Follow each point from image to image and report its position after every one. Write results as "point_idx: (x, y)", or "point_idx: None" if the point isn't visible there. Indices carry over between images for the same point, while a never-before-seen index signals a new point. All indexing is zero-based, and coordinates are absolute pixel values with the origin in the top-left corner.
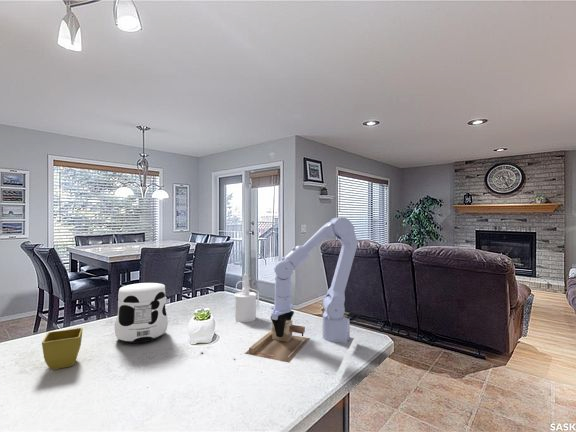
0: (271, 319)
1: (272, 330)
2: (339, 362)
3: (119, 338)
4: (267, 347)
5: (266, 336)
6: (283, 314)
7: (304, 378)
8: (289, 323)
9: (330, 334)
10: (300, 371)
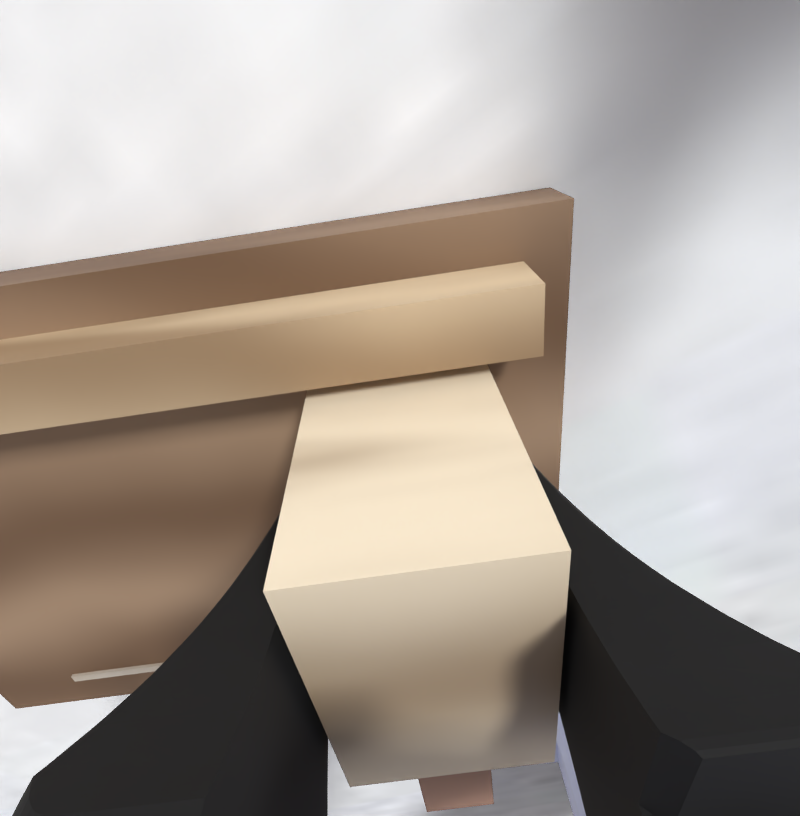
0: (39, 790)
1: (297, 454)
2: (333, 778)
3: None
4: (52, 470)
5: (173, 382)
6: (617, 785)
7: (26, 750)
8: (406, 772)
9: (573, 795)
10: (68, 717)
